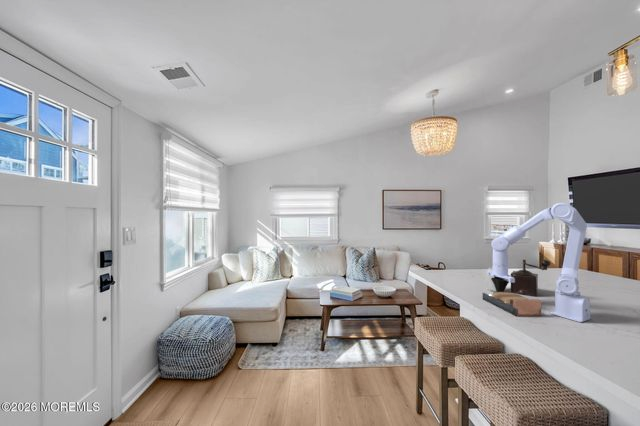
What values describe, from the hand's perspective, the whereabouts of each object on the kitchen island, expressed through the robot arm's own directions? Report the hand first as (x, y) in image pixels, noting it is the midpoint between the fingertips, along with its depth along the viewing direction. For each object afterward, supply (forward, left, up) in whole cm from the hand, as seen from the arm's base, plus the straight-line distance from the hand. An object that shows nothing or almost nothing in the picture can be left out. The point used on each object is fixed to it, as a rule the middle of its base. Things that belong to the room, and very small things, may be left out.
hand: (500, 294), depth 118 cm
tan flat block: (-6, +2, 0) cm, 6 cm away
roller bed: (-5, +2, -4) cm, 6 cm away
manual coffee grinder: (+2, -27, -4) cm, 27 cm away
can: (+12, -16, -4) cm, 20 cm away
